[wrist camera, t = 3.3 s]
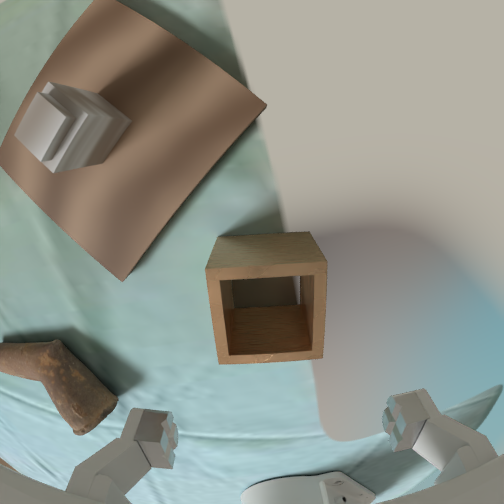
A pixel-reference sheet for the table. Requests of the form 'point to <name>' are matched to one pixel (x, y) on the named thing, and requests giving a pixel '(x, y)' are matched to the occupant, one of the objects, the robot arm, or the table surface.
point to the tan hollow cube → (273, 317)
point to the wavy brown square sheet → (122, 131)
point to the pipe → (61, 381)
